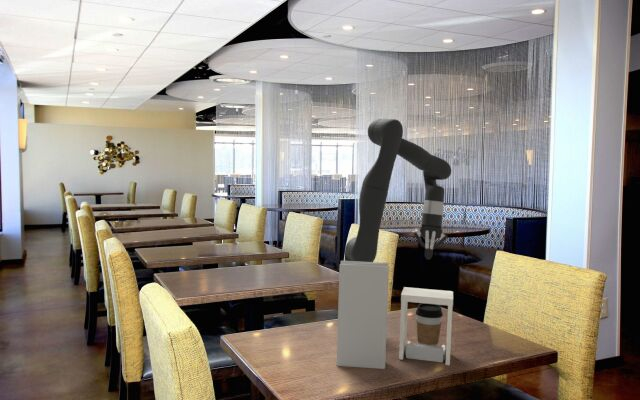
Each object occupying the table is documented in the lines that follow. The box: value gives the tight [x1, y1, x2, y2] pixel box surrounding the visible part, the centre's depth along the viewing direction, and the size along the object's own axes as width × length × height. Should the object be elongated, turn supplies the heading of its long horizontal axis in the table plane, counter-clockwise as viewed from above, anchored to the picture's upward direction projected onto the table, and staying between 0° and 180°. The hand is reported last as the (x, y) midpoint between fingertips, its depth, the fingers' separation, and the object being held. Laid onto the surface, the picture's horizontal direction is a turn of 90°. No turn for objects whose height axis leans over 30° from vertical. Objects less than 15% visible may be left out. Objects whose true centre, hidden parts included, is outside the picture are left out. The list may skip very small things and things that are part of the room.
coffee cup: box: [415, 303, 444, 347], centre depth 162 cm, size 8×8×15 cm
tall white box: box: [336, 260, 390, 370], centre depth 151 cm, size 14×6×30 cm, turn 84°
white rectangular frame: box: [398, 286, 454, 366], centre depth 160 cm, size 15×13×20 cm
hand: (428, 258), depth 194 cm, fingers closed
